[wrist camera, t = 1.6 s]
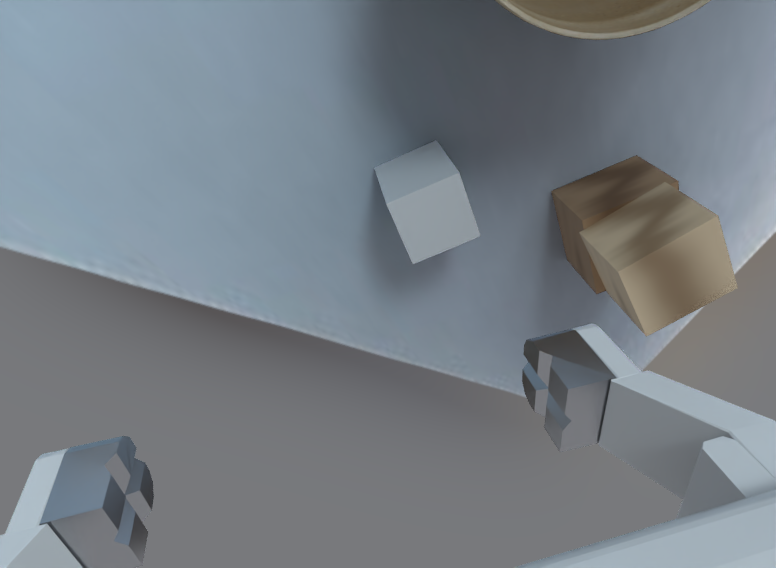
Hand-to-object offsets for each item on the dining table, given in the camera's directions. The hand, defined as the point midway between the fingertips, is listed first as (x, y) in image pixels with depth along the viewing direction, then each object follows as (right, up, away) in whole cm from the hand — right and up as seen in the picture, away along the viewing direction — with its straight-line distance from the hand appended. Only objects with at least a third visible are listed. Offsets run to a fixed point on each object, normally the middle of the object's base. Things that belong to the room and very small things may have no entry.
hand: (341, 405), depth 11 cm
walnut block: (+17, +8, +28) cm, 34 cm away
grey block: (+3, +10, +25) cm, 27 cm away
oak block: (+18, +5, +24) cm, 30 cm away
